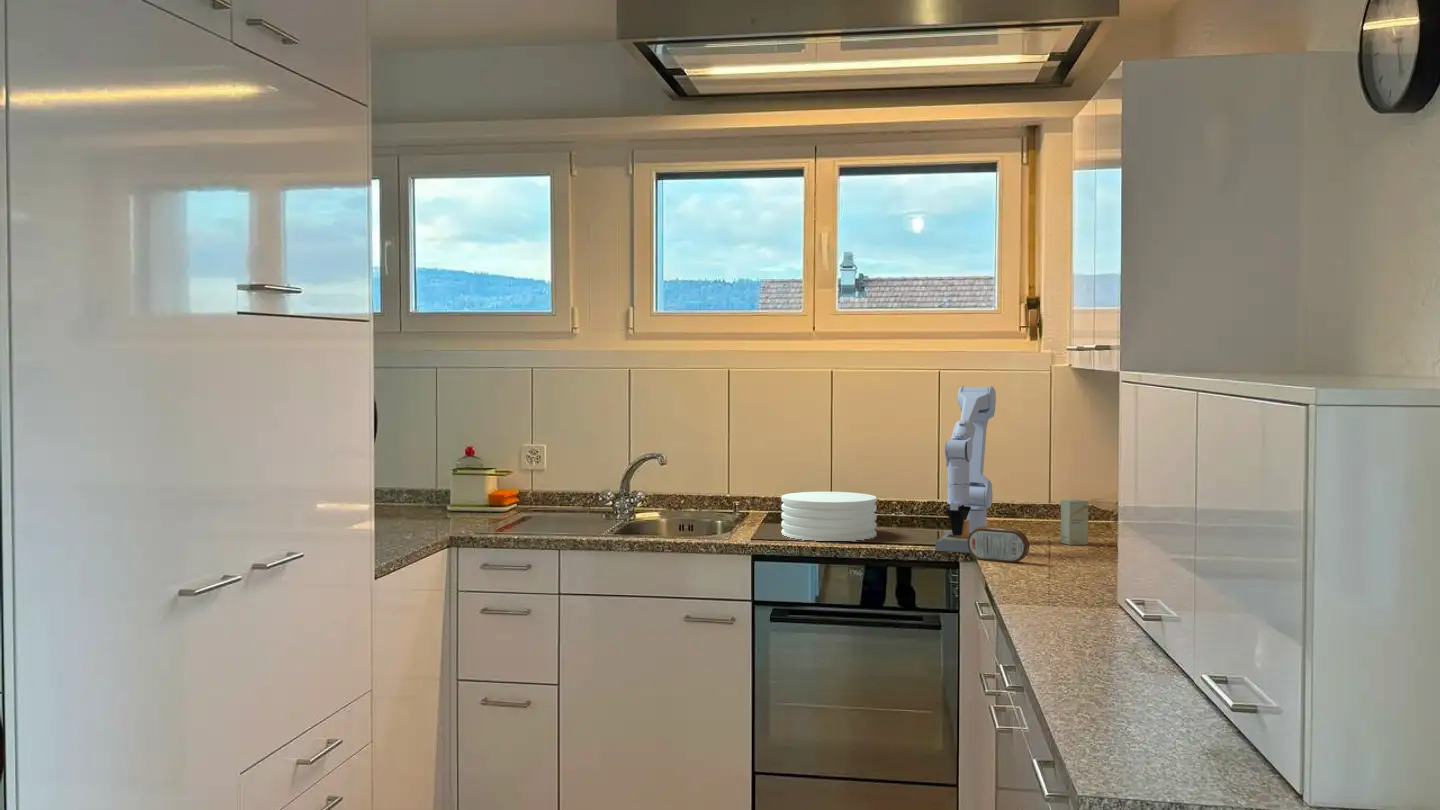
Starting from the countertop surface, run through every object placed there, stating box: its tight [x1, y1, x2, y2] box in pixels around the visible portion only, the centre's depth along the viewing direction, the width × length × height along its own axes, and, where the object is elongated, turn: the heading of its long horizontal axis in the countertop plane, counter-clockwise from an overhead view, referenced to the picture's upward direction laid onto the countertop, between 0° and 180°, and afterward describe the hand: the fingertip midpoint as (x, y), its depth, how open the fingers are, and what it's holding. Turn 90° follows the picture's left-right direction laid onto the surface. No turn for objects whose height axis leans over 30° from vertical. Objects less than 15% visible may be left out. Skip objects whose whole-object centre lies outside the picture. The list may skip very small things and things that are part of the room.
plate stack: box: [780, 491, 878, 542], centre depth 286 cm, size 28×28×12 cm
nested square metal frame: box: [935, 529, 971, 554], centre depth 260 cm, size 12×10×4 cm
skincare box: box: [1060, 499, 1089, 546], centre depth 268 cm, size 6×4×12 cm
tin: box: [967, 525, 1030, 564], centre depth 242 cm, size 15×3×8 cm, turn 59°
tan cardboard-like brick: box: [954, 520, 970, 538], centre depth 260 cm, size 4×4×6 cm
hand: (958, 534), depth 260 cm, fingers closed on tan cardboard-like brick, 3 cm apart
